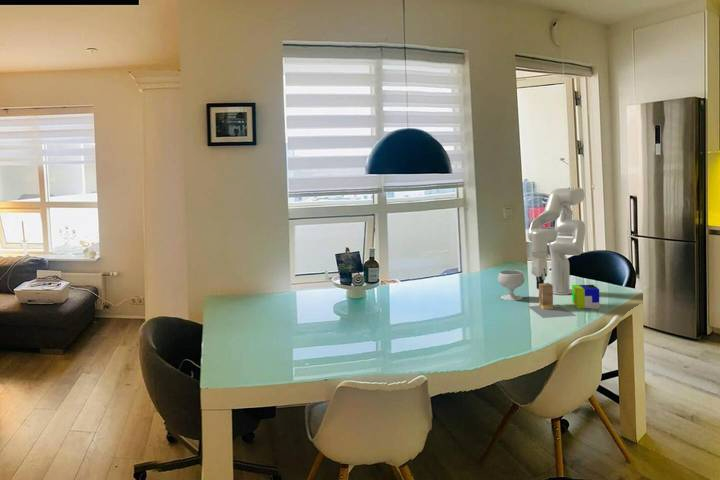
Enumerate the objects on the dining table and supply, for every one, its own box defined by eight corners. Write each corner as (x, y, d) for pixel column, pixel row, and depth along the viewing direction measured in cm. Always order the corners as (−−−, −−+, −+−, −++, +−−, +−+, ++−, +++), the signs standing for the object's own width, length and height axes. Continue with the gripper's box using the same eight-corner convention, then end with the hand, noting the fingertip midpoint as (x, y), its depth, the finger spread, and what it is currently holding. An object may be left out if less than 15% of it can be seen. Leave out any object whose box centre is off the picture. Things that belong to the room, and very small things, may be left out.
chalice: (530, 298, 248) (529, 271, 246) (514, 303, 240) (513, 276, 239) (508, 294, 260) (508, 268, 258) (493, 298, 252) (492, 272, 250)
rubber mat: (527, 307, 231) (527, 306, 231) (558, 305, 231) (558, 304, 231) (542, 319, 211) (542, 317, 211) (576, 316, 211) (576, 315, 211)
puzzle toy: (599, 309, 221) (599, 289, 220) (577, 309, 223) (577, 289, 222) (593, 303, 231) (592, 284, 229) (572, 303, 233) (572, 285, 231)
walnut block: (539, 306, 229) (538, 283, 228) (548, 305, 229) (548, 283, 228) (543, 309, 225) (542, 285, 223) (553, 308, 224) (552, 285, 223)
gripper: (527, 252, 238) (527, 286, 240) (537, 257, 223) (538, 292, 225) (541, 251, 238) (541, 285, 240) (553, 256, 223) (553, 291, 225)
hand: (540, 288), depth 233 cm, fingers closed
